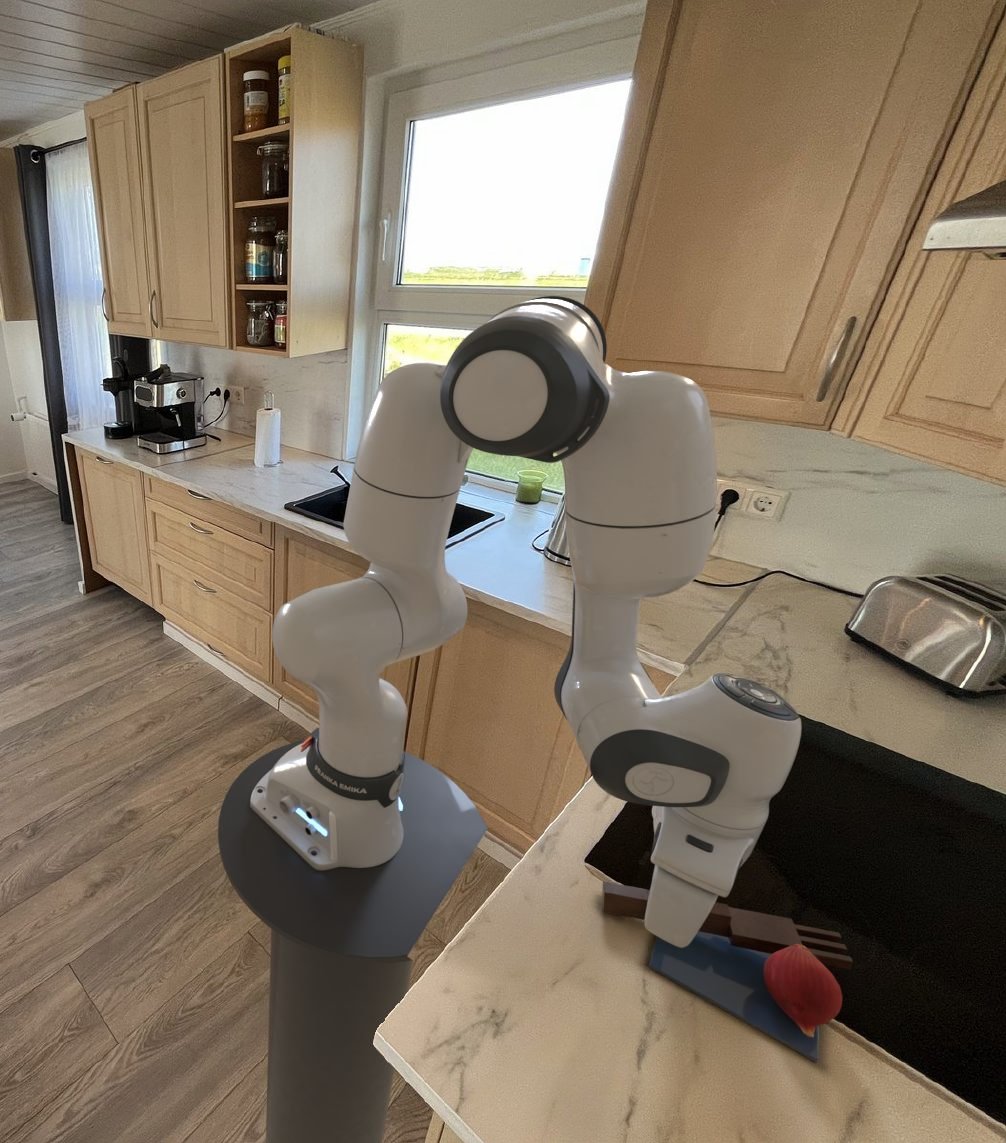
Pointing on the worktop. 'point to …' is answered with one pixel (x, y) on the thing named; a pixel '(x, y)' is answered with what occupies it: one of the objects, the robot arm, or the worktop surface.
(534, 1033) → the worktop surface
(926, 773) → the worktop surface
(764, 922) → the fork
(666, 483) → the robot arm
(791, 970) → the red fruit
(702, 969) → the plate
